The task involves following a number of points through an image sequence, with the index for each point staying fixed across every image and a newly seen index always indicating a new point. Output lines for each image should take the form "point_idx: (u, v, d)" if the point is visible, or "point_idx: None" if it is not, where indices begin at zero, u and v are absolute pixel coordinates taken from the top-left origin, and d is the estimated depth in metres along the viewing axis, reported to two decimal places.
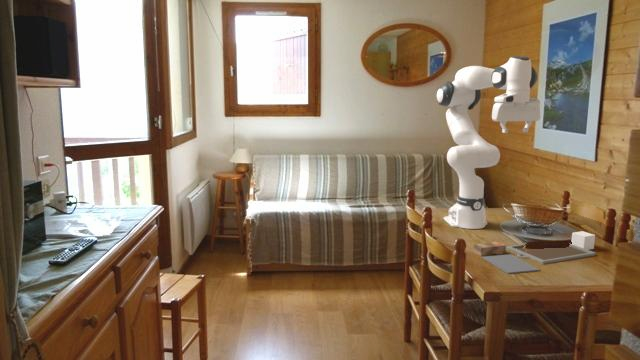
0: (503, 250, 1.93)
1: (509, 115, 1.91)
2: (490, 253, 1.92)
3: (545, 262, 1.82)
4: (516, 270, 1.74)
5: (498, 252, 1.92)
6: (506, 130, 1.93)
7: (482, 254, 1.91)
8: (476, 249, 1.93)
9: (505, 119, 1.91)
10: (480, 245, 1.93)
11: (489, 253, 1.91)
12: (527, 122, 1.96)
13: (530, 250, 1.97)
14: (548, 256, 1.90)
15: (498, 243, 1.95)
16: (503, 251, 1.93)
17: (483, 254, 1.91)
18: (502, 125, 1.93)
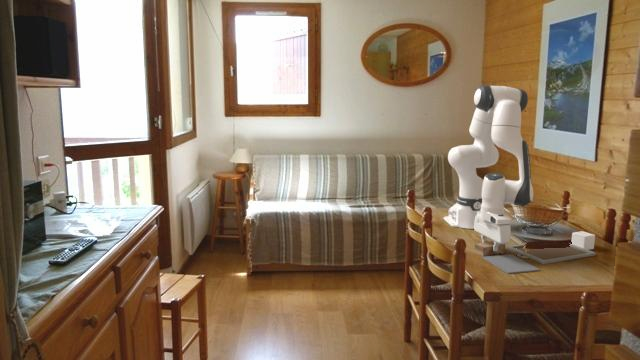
0: (503, 248, 1.93)
1: None
2: (491, 252, 1.91)
3: (545, 262, 1.82)
4: (516, 270, 1.74)
5: (498, 251, 1.93)
6: None
7: (484, 254, 1.90)
8: (477, 248, 1.93)
9: None
10: (481, 245, 1.92)
11: (490, 252, 1.91)
12: (485, 235, 1.97)
13: (530, 250, 1.96)
14: (548, 256, 1.90)
15: None
16: (503, 250, 1.94)
17: (485, 254, 1.90)
18: (497, 244, 1.89)
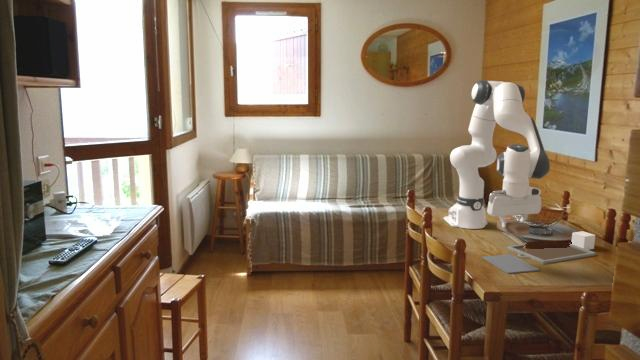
0: None
1: None
2: None
3: (546, 262, 1.82)
4: (516, 270, 1.74)
5: None
6: None
7: None
8: (522, 230, 1.73)
9: None
10: (521, 224, 1.74)
11: None
12: None
13: (530, 250, 1.96)
14: (548, 256, 1.90)
15: None
16: None
17: None
18: None
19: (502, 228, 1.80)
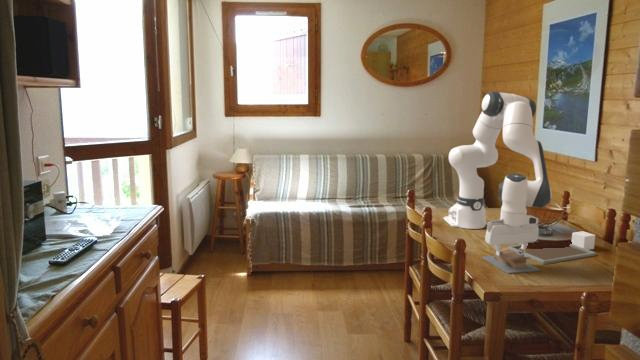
0: None
1: None
2: None
3: (546, 262, 1.82)
4: (516, 270, 1.74)
5: None
6: None
7: None
8: (518, 262, 1.76)
9: None
10: (518, 257, 1.77)
11: None
12: None
13: (530, 250, 1.96)
14: (548, 256, 1.90)
15: (502, 249, 1.84)
16: None
17: None
18: None
19: (499, 259, 1.83)
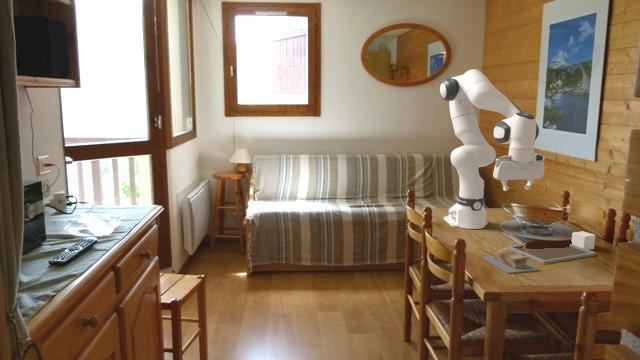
0: None
1: None
2: None
3: (546, 262, 1.82)
4: (516, 270, 1.74)
5: None
6: None
7: None
8: (518, 262, 1.76)
9: None
10: (518, 257, 1.77)
11: None
12: None
13: (531, 250, 1.96)
14: (549, 256, 1.90)
15: (502, 249, 1.84)
16: None
17: None
18: None
19: (499, 259, 1.83)
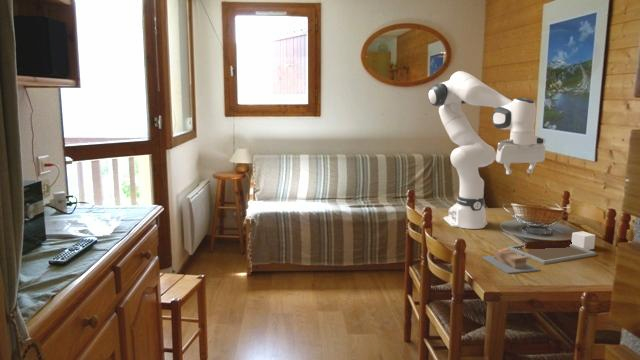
0: None
1: None
2: None
3: (546, 262, 1.82)
4: (516, 270, 1.74)
5: None
6: None
7: None
8: (518, 262, 1.76)
9: None
10: (518, 257, 1.77)
11: None
12: None
13: (531, 250, 1.96)
14: (549, 256, 1.90)
15: (502, 249, 1.84)
16: None
17: None
18: None
19: (499, 259, 1.83)
